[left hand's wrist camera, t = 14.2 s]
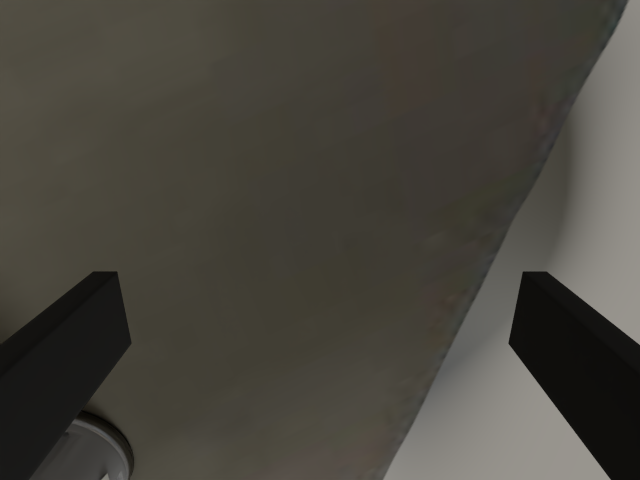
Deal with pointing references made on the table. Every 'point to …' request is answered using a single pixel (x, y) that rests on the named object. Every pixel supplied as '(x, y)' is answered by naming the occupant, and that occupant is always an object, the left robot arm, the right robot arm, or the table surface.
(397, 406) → the table surface
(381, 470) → the table surface
